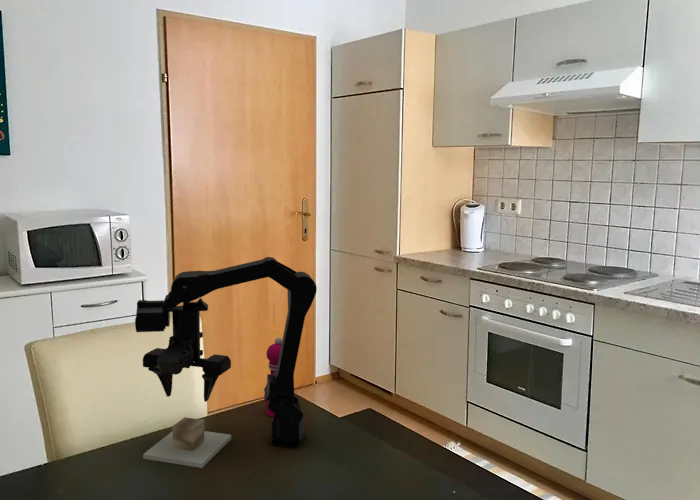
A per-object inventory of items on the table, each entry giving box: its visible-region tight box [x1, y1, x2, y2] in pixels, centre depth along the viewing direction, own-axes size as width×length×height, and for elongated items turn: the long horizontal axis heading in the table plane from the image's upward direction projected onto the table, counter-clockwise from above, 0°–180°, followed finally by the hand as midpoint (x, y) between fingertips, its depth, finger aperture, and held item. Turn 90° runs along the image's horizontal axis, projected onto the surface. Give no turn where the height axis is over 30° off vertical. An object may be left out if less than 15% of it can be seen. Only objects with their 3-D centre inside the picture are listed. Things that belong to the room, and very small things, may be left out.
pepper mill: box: [263, 337, 283, 418], centre depth 153 cm, size 7×7×20 cm
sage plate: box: [142, 430, 232, 469], centre depth 134 cm, size 14×14×1 cm
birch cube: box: [171, 416, 205, 451], centre depth 134 cm, size 5×5×5 cm
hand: (187, 398), depth 133 cm, fingers open, 9 cm apart
